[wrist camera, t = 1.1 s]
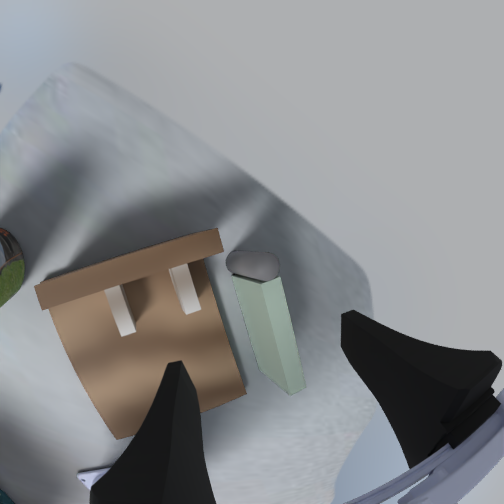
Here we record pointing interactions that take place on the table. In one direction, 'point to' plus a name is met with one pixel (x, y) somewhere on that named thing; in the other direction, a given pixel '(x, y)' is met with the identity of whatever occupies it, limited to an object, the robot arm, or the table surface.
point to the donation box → (5, 498)
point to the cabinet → (144, 328)
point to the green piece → (267, 317)
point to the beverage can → (10, 266)
